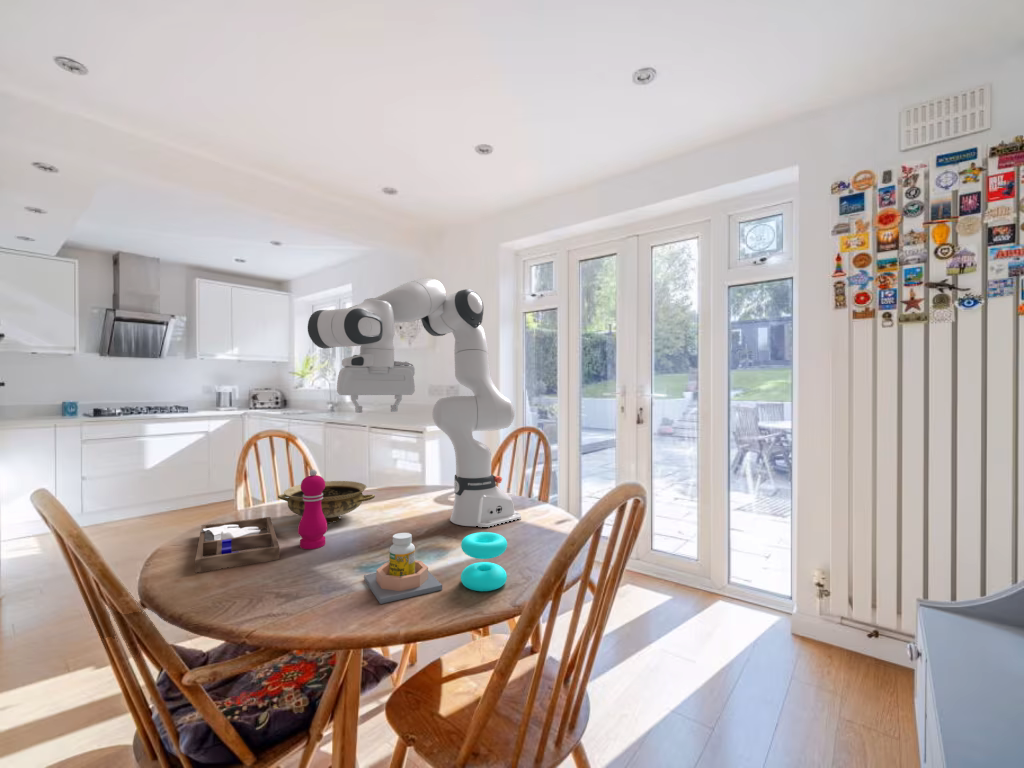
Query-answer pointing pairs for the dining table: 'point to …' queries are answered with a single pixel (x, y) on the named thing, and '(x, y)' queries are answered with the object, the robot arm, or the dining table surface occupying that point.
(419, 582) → the collar holder
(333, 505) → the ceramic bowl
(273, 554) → the walnut compartment tray
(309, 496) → the pepper mill
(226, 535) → the white tapered wedge pair
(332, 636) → the dining table surface
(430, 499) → the dining table surface
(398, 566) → the supplement bottle
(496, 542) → the donuts
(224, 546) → the cable holder
